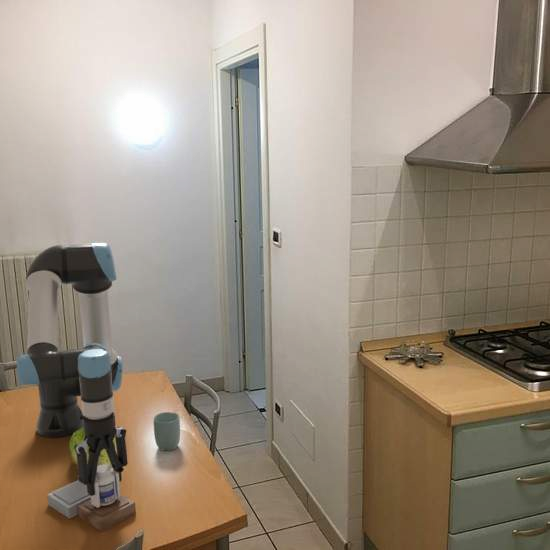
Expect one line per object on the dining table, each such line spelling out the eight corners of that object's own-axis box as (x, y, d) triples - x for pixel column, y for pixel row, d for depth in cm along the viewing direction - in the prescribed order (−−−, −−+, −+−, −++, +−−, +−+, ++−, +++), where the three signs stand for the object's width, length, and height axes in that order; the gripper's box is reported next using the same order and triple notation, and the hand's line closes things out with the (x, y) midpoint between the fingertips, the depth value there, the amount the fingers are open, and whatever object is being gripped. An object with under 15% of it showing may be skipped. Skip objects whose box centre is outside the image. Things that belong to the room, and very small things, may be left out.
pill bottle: (96, 495, 160) (94, 463, 158) (117, 493, 161) (115, 462, 159) (92, 507, 155) (90, 474, 153) (114, 505, 156) (111, 473, 154)
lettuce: (74, 479, 166) (111, 445, 169) (58, 438, 187) (91, 407, 190) (103, 504, 172) (139, 470, 174) (85, 461, 193) (116, 431, 195)
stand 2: (78, 516, 158) (77, 504, 157) (112, 499, 165) (111, 488, 165) (101, 531, 152) (100, 519, 151) (135, 513, 159) (134, 501, 158)
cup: (175, 454, 189) (174, 423, 187) (151, 452, 190) (149, 421, 188) (184, 442, 196) (182, 412, 194) (161, 440, 198) (159, 411, 196)
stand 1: (48, 504, 164) (47, 493, 163) (82, 488, 171) (81, 477, 170) (69, 518, 157) (68, 506, 157) (103, 501, 165) (102, 489, 164)
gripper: (73, 431, 144) (82, 522, 149) (138, 405, 157) (144, 489, 162) (56, 422, 149) (65, 510, 153) (120, 397, 162) (127, 479, 167)
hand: (106, 499), depth 158 cm, fingers closed on pill bottle, 5 cm apart
